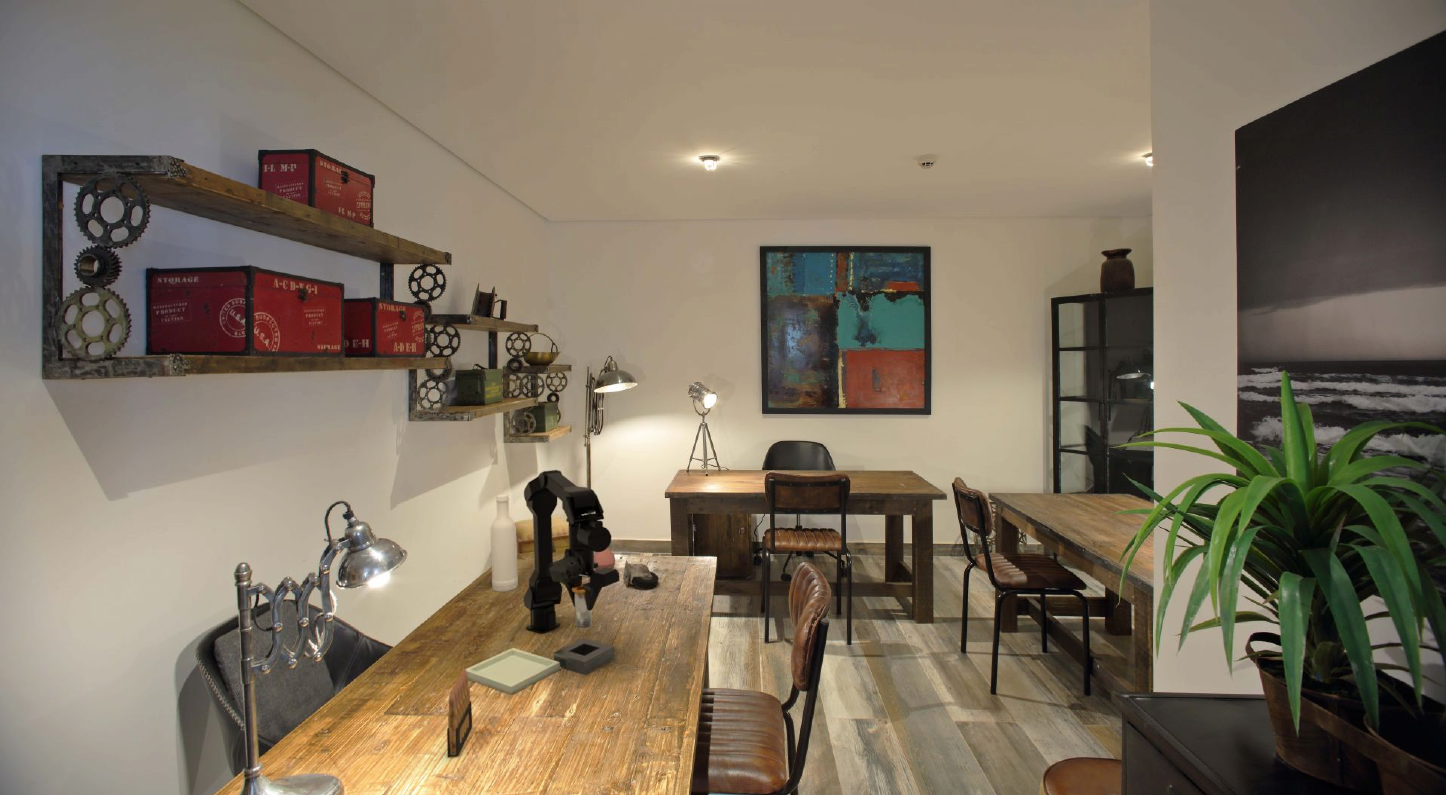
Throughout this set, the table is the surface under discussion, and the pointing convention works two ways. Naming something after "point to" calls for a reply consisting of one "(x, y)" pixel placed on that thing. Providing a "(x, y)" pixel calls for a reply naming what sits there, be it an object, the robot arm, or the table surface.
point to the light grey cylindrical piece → (581, 607)
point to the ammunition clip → (459, 715)
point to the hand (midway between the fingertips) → (583, 608)
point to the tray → (512, 670)
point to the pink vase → (604, 559)
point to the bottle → (504, 548)
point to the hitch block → (584, 656)
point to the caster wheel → (639, 576)
